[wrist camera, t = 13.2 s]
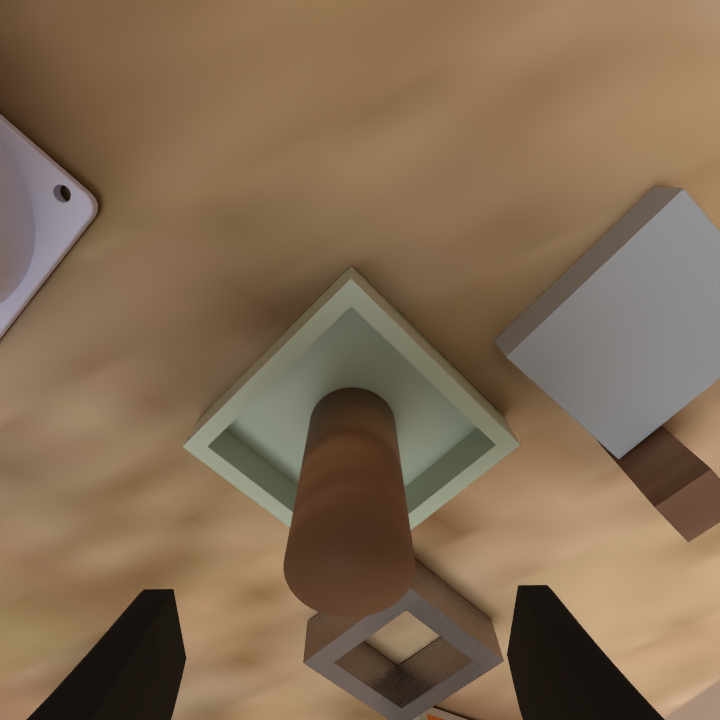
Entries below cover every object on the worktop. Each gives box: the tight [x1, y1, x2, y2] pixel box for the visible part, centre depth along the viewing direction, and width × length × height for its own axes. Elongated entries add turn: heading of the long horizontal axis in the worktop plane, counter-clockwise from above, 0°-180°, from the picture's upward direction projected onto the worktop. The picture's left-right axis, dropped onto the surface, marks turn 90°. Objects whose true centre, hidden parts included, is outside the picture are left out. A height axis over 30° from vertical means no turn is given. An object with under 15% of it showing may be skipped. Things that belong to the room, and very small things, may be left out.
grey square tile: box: [494, 186, 720, 459], centre depth 17 cm, size 6×7×2 cm
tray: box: [182, 266, 520, 530], centre depth 18 cm, size 8×8×2 cm
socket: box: [303, 559, 504, 720], centre depth 22 cm, size 6×6×2 cm
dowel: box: [284, 387, 415, 618], centre depth 15 cm, size 3×3×7 cm
